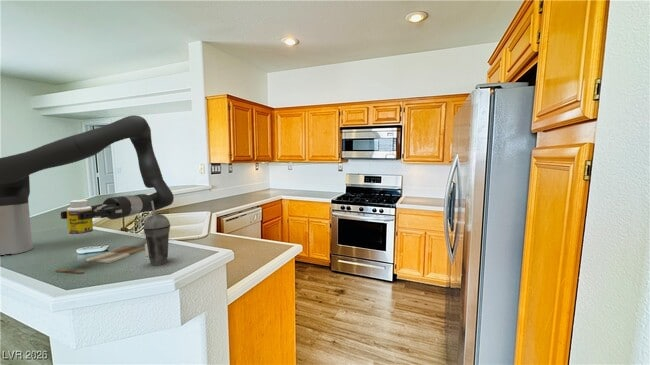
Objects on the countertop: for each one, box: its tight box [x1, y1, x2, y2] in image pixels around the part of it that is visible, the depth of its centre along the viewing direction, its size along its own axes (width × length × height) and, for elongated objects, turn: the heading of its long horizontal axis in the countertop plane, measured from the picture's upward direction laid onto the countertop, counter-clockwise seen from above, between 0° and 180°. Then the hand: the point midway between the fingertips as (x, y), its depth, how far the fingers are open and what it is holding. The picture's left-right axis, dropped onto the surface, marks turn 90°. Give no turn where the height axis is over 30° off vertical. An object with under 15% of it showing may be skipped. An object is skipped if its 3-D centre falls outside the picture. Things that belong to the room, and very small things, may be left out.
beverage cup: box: [142, 201, 171, 267], centre depth 83 cm, size 7×7×20 cm
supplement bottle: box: [66, 199, 94, 237], centre depth 80 cm, size 6×6×10 cm
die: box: [144, 243, 149, 257], centre depth 92 cm, size 4×4×4 cm
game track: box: [55, 245, 145, 275], centre depth 88 cm, size 9×22×1 cm, turn 170°
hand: (70, 216), depth 77 cm, fingers closed on supplement bottle, 5 cm apart
